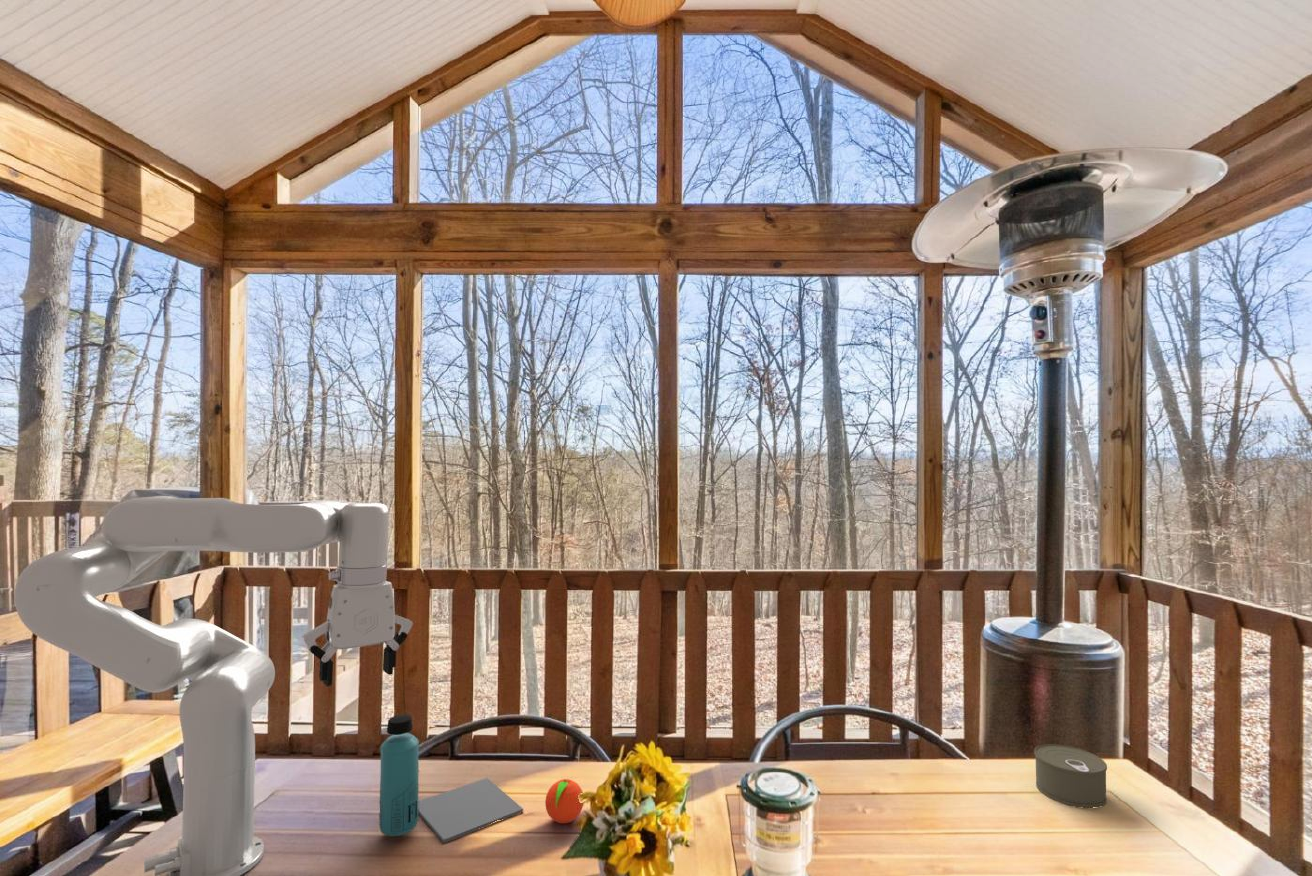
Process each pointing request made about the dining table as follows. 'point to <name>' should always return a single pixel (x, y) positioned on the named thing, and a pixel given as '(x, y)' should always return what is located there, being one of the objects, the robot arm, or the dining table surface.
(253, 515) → the robot arm
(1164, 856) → the dining table surface
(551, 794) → the clementine
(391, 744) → the beverage bottle
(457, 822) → the mat
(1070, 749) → the can
